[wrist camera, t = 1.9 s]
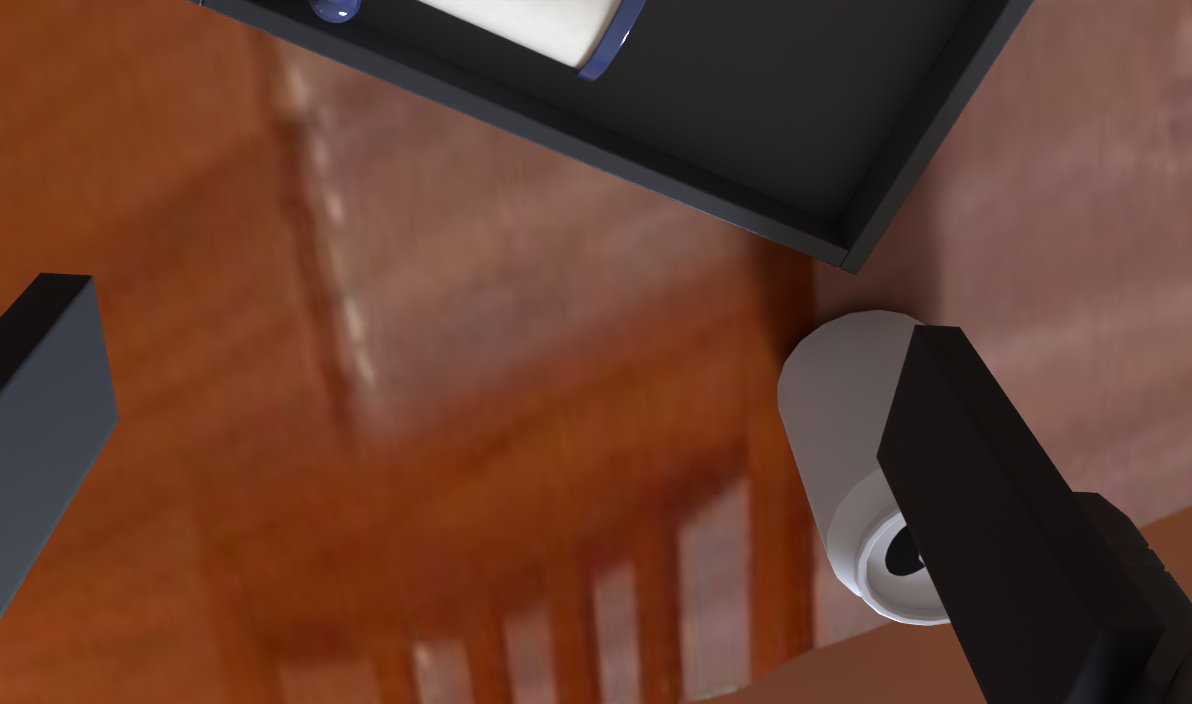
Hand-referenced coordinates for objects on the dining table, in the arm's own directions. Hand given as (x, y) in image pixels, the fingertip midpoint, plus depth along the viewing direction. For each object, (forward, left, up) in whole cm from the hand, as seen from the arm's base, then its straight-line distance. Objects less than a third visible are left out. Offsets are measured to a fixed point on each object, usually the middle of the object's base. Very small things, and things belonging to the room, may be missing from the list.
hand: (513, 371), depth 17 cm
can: (+19, -8, -23) cm, 31 cm away
